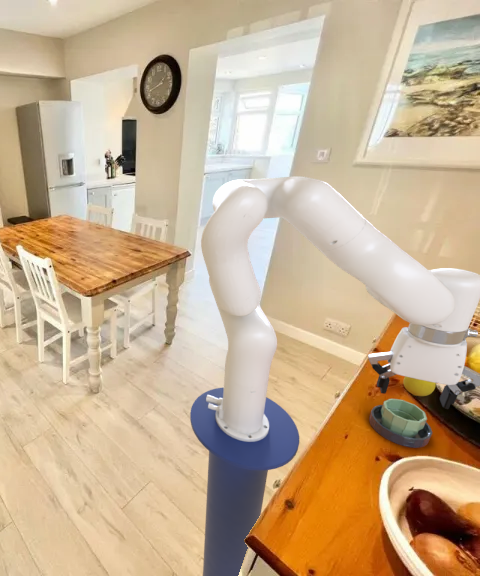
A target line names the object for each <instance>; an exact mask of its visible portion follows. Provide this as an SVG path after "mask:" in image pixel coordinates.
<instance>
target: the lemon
mask: <svg viewBox="0 0 480 576" xmlns="http://www.w3.org/2000/svg"><path fill="white" fill-rule="evenodd" d="M403 377H404V378H403V381H402V382H403V387H404V388H405V390H406V391H407V392H409V394H412V395H413V396H415V397H416V396H418V397H427V396H429V395H431V394H432V393H433V392H434V391H435V389H436V386H437V383H434V382H429V381H425V380H420V379H415V378H410V377H406V376H403Z"/></svg>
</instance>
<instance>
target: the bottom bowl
mask: <svg viewBox="0 0 480 576" xmlns="http://www.w3.org/2000/svg"><path fill="white" fill-rule="evenodd" d="M382 406H383V404H378V405H375V406H373V407H372V409H371V410H370V413H369V417H368V421H369V424H370V426H371V428H372V429H373V430H374V431H375V432H376V433H377V434H378V435H380V436H381V437H383V438H385V439H386V440H388V441H390V442H392V443H394V444H397V445H398V446H399V445H400V446H403V447H406V448H414V449H418V448H419V449H420V448H424V447H425V446H427V445H428V444H429V441H430V440H431V438H432V435H433V431H432V427H431V426H430V425H429V424H428V422H427V421H426V423H425V425H424V427H423V429H421V430H419V431H418V433H417V435H415V436H414V437H413V438H411V437H406V436H402V435H400V434H397V433H395V432H393V431H391V430H389V429H387V428H386V427H384V426H383V425H382V423H381V417H382V414H381V409H382ZM395 410H398V409H395ZM400 411H401V410H400ZM403 412H404V411H403ZM405 413H406V412H405ZM408 414H409V413H408ZM410 415H411V414H410ZM411 416H412V415H411ZM414 418H415V417H414ZM415 419H416V418H415ZM416 420H417V419H416Z"/></svg>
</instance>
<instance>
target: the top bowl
mask: <svg viewBox="0 0 480 576" xmlns="http://www.w3.org/2000/svg"><path fill="white" fill-rule="evenodd" d="M382 405H383V406H382V409H381V414H382V417H381V423H382V425H383V426H384V427H386V428H387V429H389V430H391V431H393V432H395V433H397V434H400V435H402V436H406V437H411V438H413V437H414V436H415V435H417V433H418V431H419V430H421V429H423V427H424V425H425V423H426V422H427V420H428V417H427V414H426V412H425V411H424V410H423V409H421V408H420V407H419V406H417V405H416V404H415V403H411V402H409V401H407V400H405V399H400V398H399V399H398V398H388V399H386V400H384V401H383V403H382ZM395 409H398V410H395ZM400 410H401V411H400ZM403 411H404V412H403ZM405 412H406V413H405ZM408 413H409V414H408ZM410 414H411V415H412V416H411V415H410ZM414 417H415V418H416V419H417V420H416V419H415V418H414Z"/></svg>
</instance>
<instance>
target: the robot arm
mask: <svg viewBox="0 0 480 576" xmlns="http://www.w3.org/2000/svg"><path fill="white" fill-rule="evenodd" d="M212 208H213V213H212V214H211V215H210V217H209V218H208V220H207V221H206V224H205V226H204V228H203V231H202V235H201V240H200V243H201V244H200V248H201V252H202V257H203V260H204V264H205V266H206V269H207V270H206V271H207V274H208V281H209V282H208V283H209V287H210V289H211V293H212V295H213V298H214V301H215V303H216V306H217V310H218V312H219V315H220V317H221V321H222V323H223V327H224V330H225V334H226V337H227V352H226V356H225V362H224V377H223V378H224V379H223V388H224V391H223V398H219V399H218V398H215V397H213V396H210V395H207V397H206V402H209V405H208V408H209V409H212V410H216V422H217V424H218V426H219V427H220V428H221V429H222V430H223V431H224V432H225V433H226V434H227V435H229V436H231V437H233V438H235V439H237V440H241V441H246V442H255V441H259V440H261V439H263V438H264V437H266V435H267V434H268V431H269V422H268V419H267V417H266V416H265V414H264V409H265V402H266V397H267V393H268V387H269V380H270V379H269V378H270V372H271V366H272V362H273V359H274V357H275V355H276V352H277V348H278V338H277V334H276V330H275V329H274V327H273V325H272V323H271V322H270V320H269V318H268V316H267V315H266V314H265V312H264V311H263V309H262V307H261V304H260V302H261V286H260V284H259V281H258V279H257V277H256V274H255V271H254V268H253V265H252V261H251V256H250V252H249V248H248V247H249V246H248V244H249V243H248V242H249V239H250V236H251V235H252V234H253V232H254V231H255V229H256V228H258V227H259V225H260V224H261V223H262V222H263V220H264V219H276V218H282V219H283V220H284V221H286V222H288V224H290V225H291V226H292V227H293V228H294V229H295V230H296V231H298V233H300V234H301V236H303V237H304V238H305V239H306V240H307V241H309V242H310V244H312V245H313V246H314V247H315V248H316V249H317V250H318V251H320V253H321V254H323V255H324V256H325V257H326V258H327V259H328V260H329V261H331V262H332V263H333V264H334V265H335V266H337V267H338V268H339V269H340V270H342V271H343V272H344V273H347V274H348V275H350V276H351V277H353V278H355V279H356V280H357V281H359V282H360V283H361V284H363V285H365V290H366V292H367V293H368V295H369V296H370V297H372V299H374V300H375V301H377V302H378V303H379V304H380V305H382V306H384V307H385V308H387V310H390V311H391V312H393V313H394V314H395V315H396V316H398V317H399V318H401V319H402V320H403V321H405V322H407V323H409V324H408V326H404V327H402V328H401V330H400V331H399V333H398V334H397V336H396V338H395V339H394V342H393V344H392V345H391V348H390V351H384V352H375V353H370V354H367V358H368V361H369V363H370V365H371V368H372V370H374V372H376V373H377V375H378V379H377V382H376V386H377V388H380V394H383V395H385V394H387V391H388V388H389V385H390V381H391V379H390V377H393V376H396V375H398V376H402V377H405V376H406V377H410V378H415V379H420V380H425V381H429V382H434V383H436V384H438V385H439V384H440V385H444V387H443V389H442V392H441V394H440V396H439V401H440V403H441V406H442V408H443V409H446V410H449V409H450V407H451V405H455V402H456V400H457V398H458V396H461V395H463V394H464V393H466V392H469V391H473V390H476V389H477V387H480V372H477V371H476V370H474V369H471V368H470V367H468V366H466V365H465V364H466V359H467V353H468V352H467V351H468V341H467V338H470V337H471V338H477V337H478V335H479V331H478V330H477V329H472V328H470V324H471V322H472V320H473V317H474V315H475V312H476V310H477V307H478V306H479V302H480V274H479V273H477V272H474V271H471V270H466V269H461V268H451V267H448V268H447V267H442V268H435V269H428V268H427V267H425V266H424V265H423V264H422V263H420V261H418V260H417V259H415V258H414V257H412V256H411V255H410V254H409V253H407V252H406V251H405V250H403V249H402V248H401V247H400V246H399V245H397V244H396V243H395V242H394V240H391V239H390V237H388V236H386V235H385V234H384V233H382V232H381V231H380V230H379V229H377V228H376V227H375V226H374V225H373V223H371V222H370V221H369V220H367V218H366V217H364V216H363V215H362V214H361V213H360V212H359V211H358V210H357V209H356V208H355V207H354V206H353V205H352V204H351V203H350V202H349V201H347V199H345V197H343V196H342V194H341V193H339V192H338V191H337V189H335V188H334V186H332V185H330V184H329V183H327V182H326V181H324V180H321V179H317V178H313V177H309V176H308V177H307V176H302V175H301V176H299V175H298V176H297V175H295V176H293V175H292V176H281V177H269V178H266V177H265V178H252V179H251V178H250V179H234V180H231V181H228V182H225V183H224V184H222V185H221V186H220V187H219V188H218V189H217V190H216V191H215V193H214V195H213V198H212ZM382 361H387V364H385V365H381V364H380V363H379V362H382ZM462 375H464V376H465V377H468V379H464V380H461V378H462ZM460 380H461V381H460ZM210 403H212V404H210ZM213 404H216V405H218V406H215V405H213Z"/></svg>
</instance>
